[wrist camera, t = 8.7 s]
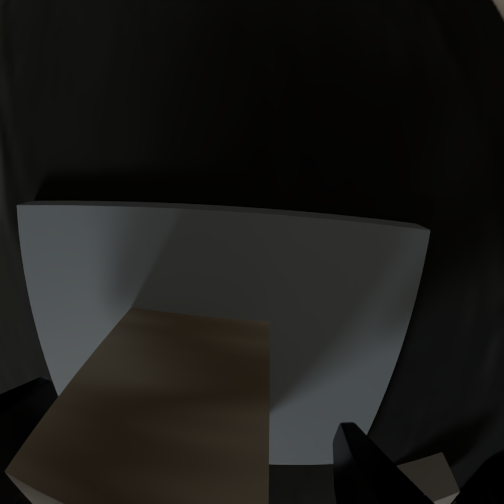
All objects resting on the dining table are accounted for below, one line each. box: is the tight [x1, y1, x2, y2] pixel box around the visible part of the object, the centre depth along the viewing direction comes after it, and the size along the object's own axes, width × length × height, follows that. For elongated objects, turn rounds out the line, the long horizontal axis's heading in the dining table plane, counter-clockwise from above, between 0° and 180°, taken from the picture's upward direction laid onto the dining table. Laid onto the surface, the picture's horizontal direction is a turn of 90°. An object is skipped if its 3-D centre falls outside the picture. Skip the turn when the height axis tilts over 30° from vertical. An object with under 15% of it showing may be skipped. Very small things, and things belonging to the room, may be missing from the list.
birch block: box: [4, 308, 270, 504], centre depth 7 cm, size 4×4×7 cm
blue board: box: [17, 201, 430, 465], centre depth 11 cm, size 14×11×1 cm
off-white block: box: [397, 452, 460, 504], centre depth 12 cm, size 4×4×4 cm
